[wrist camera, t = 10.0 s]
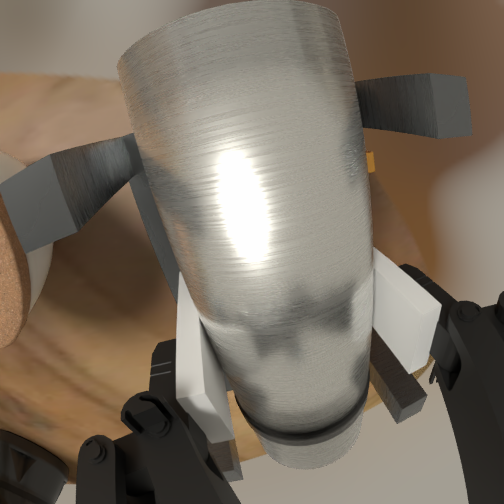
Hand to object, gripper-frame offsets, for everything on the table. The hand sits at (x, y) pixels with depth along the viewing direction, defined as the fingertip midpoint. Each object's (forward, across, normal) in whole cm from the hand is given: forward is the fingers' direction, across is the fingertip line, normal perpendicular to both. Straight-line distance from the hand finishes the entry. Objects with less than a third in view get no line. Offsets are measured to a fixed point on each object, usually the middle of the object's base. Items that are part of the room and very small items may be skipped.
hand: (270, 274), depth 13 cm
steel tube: (0, 0, 0) cm, 0 cm away
